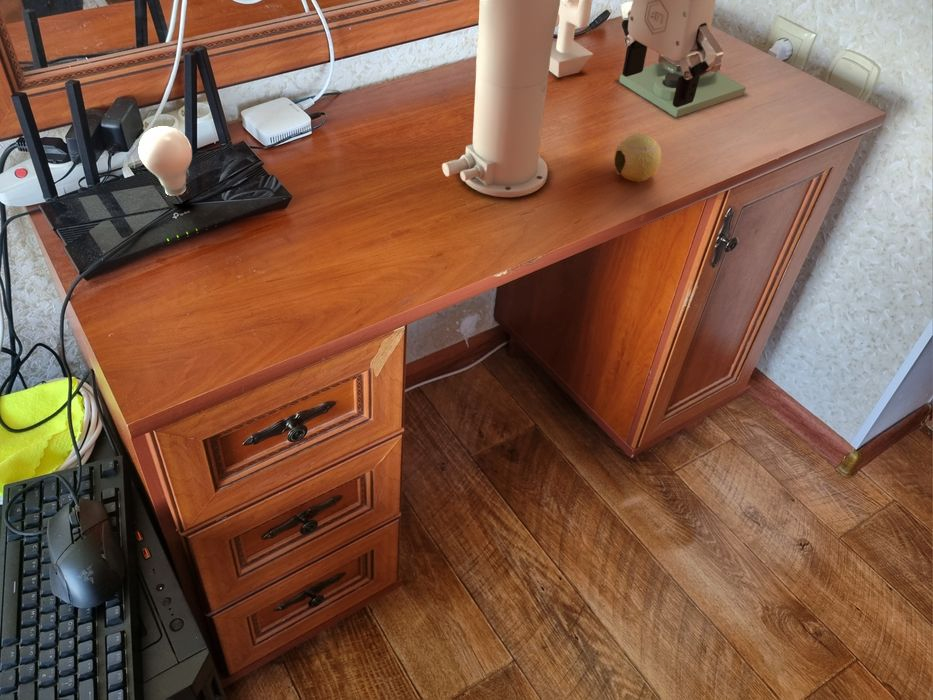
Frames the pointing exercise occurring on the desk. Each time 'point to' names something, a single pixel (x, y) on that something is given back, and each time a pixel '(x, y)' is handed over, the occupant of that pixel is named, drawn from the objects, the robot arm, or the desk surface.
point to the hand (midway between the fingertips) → (656, 88)
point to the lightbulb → (167, 157)
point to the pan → (676, 68)
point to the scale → (662, 96)
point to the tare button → (671, 80)
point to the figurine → (570, 38)
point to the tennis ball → (637, 157)
